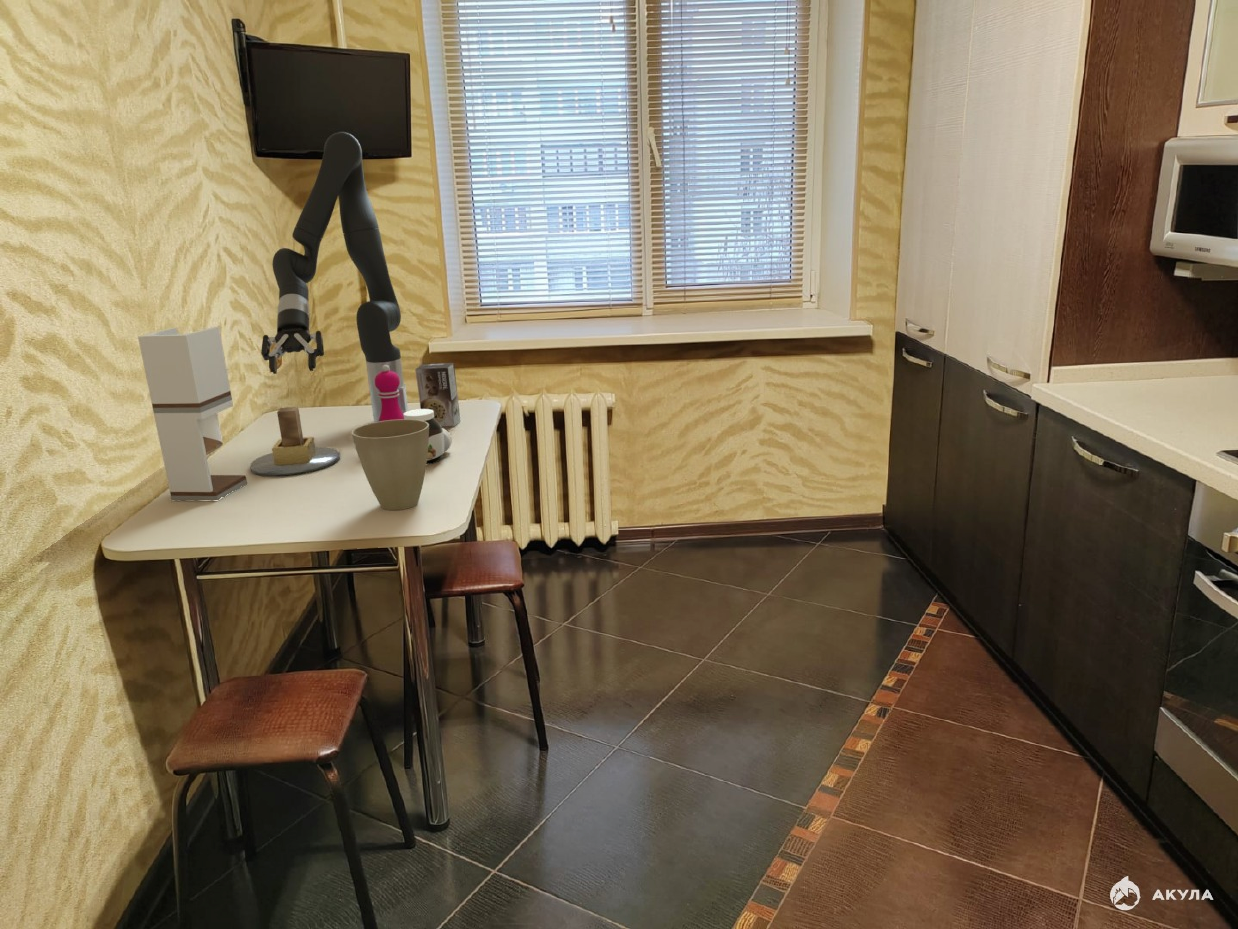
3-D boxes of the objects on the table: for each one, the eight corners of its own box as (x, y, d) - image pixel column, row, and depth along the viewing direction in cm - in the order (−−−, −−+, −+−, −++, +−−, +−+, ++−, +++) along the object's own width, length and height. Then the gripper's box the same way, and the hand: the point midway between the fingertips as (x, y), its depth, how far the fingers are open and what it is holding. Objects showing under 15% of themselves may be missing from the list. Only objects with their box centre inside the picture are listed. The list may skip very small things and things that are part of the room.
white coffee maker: (217, 501, 190) (186, 335, 180) (171, 500, 192) (137, 336, 182) (247, 483, 201) (218, 326, 191) (203, 483, 203) (173, 327, 193)
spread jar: (402, 467, 207) (396, 418, 204) (402, 454, 218) (396, 407, 215) (455, 461, 210) (450, 413, 206) (452, 449, 220) (447, 402, 217)
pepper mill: (374, 446, 226) (363, 367, 220) (391, 438, 232) (381, 361, 227) (398, 448, 223) (388, 368, 217) (415, 440, 230) (406, 362, 224)
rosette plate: (345, 448, 225) (342, 428, 224) (333, 472, 207) (330, 450, 205) (262, 455, 223) (258, 435, 221) (242, 480, 204) (238, 458, 202)
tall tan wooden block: (305, 455, 216) (298, 406, 213) (302, 460, 213) (295, 410, 209) (288, 457, 216) (280, 408, 212) (285, 461, 212) (277, 412, 209)
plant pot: (448, 505, 181) (440, 428, 176) (375, 522, 173) (364, 442, 169) (422, 487, 193) (413, 414, 188) (352, 502, 186) (342, 427, 181)
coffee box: (461, 420, 247) (455, 362, 242) (454, 426, 241) (448, 367, 236) (428, 421, 248) (422, 363, 243) (421, 427, 242) (414, 368, 237)
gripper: (259, 309, 222) (257, 364, 214) (319, 305, 224) (319, 359, 216) (267, 328, 228) (266, 381, 221) (326, 323, 230) (326, 376, 223)
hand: (292, 370), depth 218 cm, fingers open, 8 cm apart
